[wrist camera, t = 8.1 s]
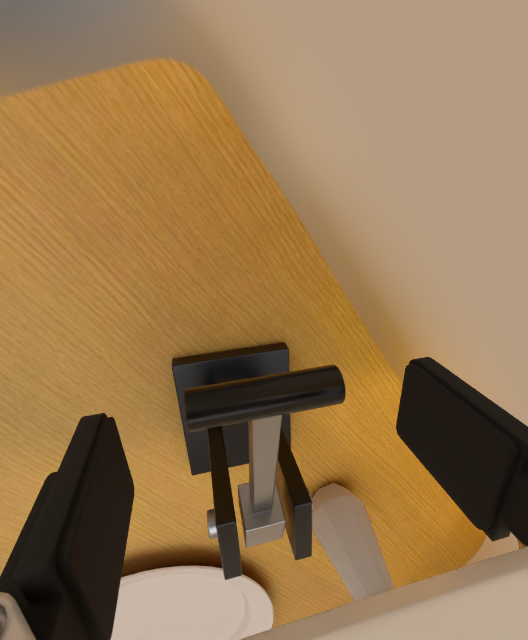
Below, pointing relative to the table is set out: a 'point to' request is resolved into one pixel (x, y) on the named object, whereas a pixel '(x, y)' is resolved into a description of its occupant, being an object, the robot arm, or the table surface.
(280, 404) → the lever
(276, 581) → the table surface
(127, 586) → the plate
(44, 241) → the table surface
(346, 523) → the salt shaker
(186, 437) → the bracket
